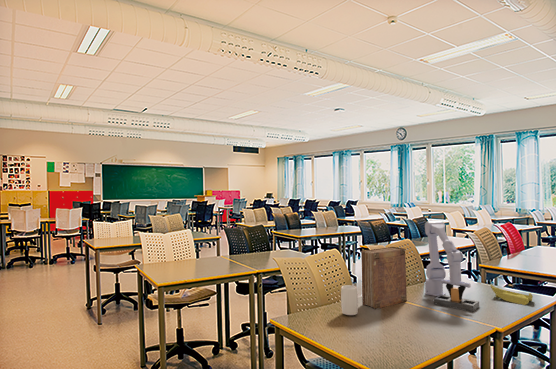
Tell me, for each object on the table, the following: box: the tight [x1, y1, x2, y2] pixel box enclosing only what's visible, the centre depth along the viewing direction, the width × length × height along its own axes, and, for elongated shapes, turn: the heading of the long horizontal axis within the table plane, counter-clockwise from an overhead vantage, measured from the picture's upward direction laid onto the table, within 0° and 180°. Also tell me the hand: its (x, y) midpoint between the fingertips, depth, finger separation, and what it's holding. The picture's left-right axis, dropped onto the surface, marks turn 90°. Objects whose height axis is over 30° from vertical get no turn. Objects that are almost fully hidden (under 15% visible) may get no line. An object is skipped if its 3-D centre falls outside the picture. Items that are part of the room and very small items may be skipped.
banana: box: [489, 284, 534, 306], centre depth 206 cm, size 20×7×10 cm
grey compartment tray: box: [433, 294, 480, 313], centre depth 198 cm, size 20×10×3 cm, turn 45°
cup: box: [340, 284, 359, 316], centre depth 187 cm, size 8×8×14 cm
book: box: [360, 246, 408, 310], centre depth 205 cm, size 25×9×30 cm, turn 121°
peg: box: [451, 286, 462, 302], centre depth 198 cm, size 4×4×8 cm
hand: (456, 298), depth 198 cm, fingers closed on peg, 4 cm apart
